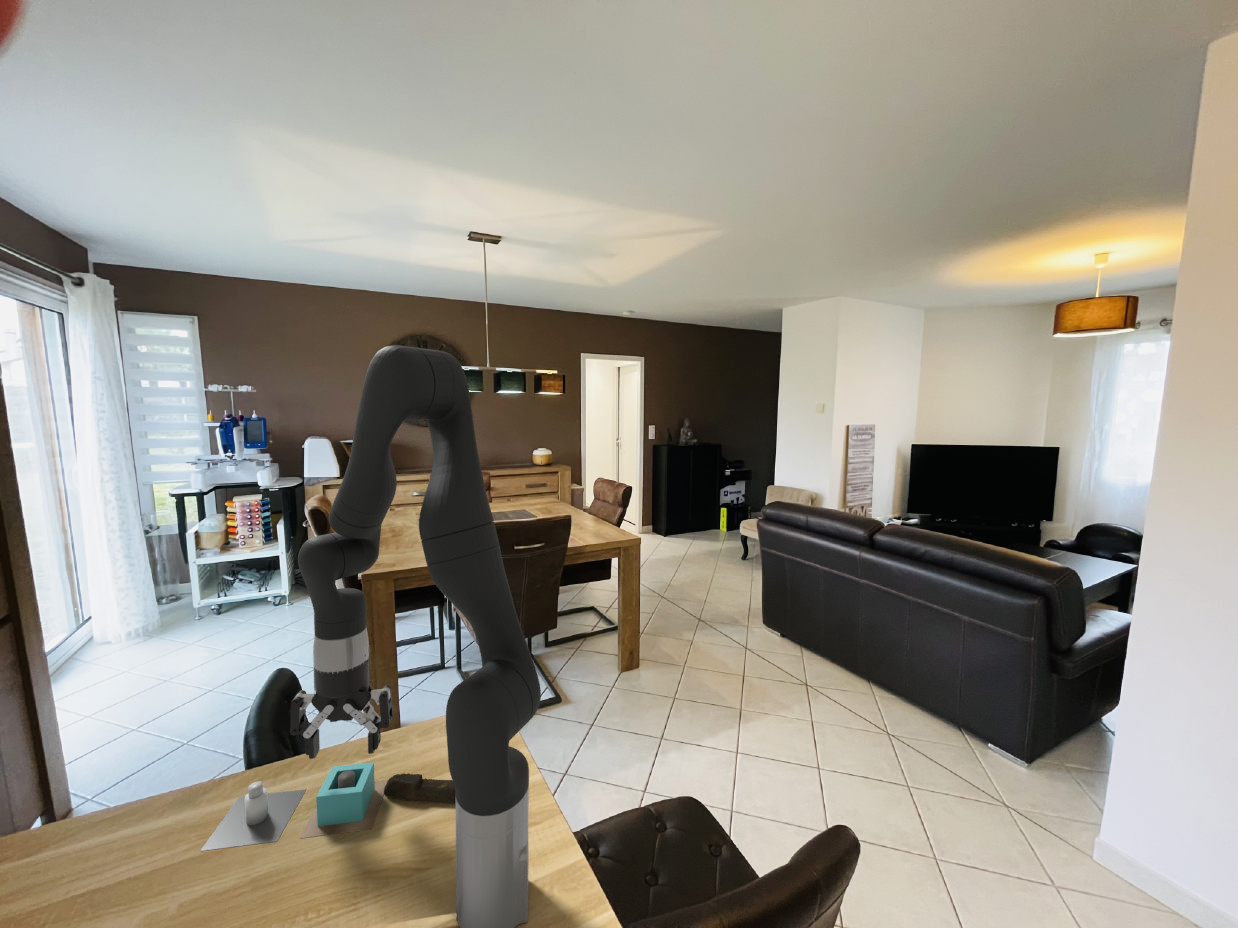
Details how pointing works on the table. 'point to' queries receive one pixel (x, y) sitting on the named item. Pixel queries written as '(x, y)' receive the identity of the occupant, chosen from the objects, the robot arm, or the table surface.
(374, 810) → the rod stand
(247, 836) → the grey peg base
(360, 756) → the table surface
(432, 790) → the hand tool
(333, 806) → the collar
